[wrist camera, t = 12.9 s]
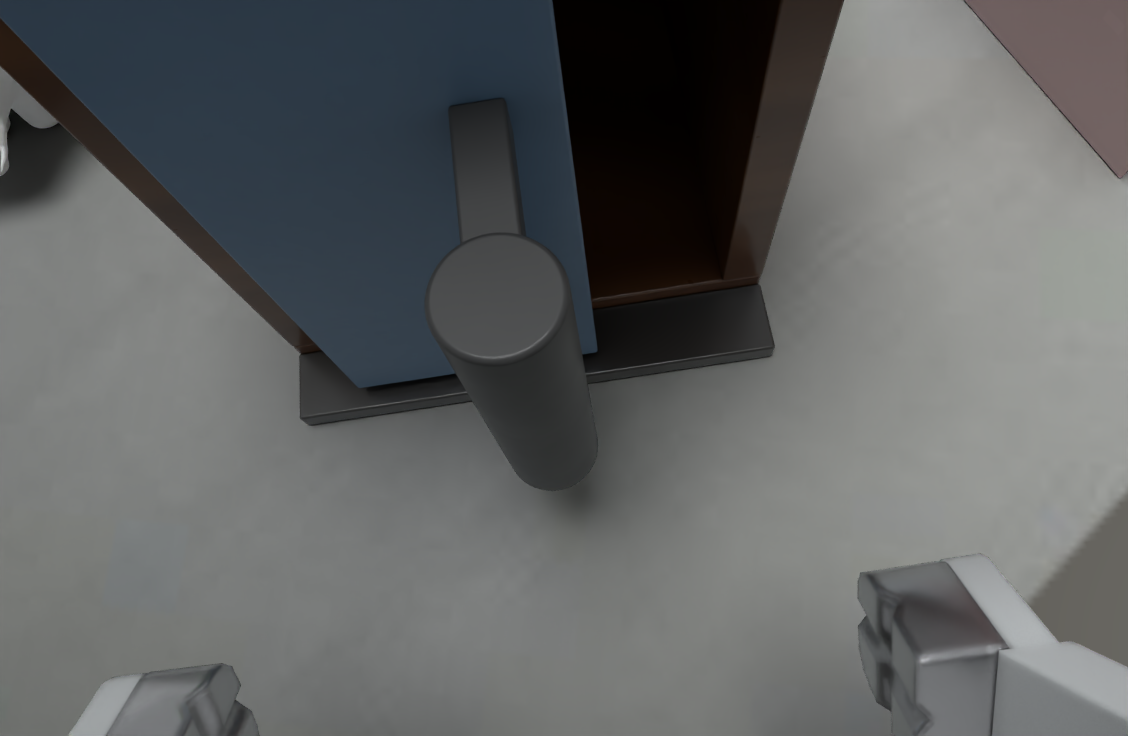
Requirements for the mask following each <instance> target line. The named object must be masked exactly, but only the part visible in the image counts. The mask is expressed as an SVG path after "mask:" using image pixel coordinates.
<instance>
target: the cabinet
mask: <svg viewBox="0 0 1128 736" xmlns="http://www.w3.org/2000/svg"><path fill="white" fill-rule="evenodd" d="M552 1H553V9H554V17H555V25H556V32H557V40H558V48H559V55H560V63H561V71H562V79H563V86H564V94H565V102H566V109H567V117H568V125H569V133H570V140H571V148H572V156H573V164H574V171H575V179H576V187H577V194H578V202H579V210H580V218H581V225H582V233H583V241H584V248H585V256H586V264H587V272H588V279H589V287H590V295H591V302H592V310H593V318H594V326H595V333H596V341H597V349H598V350H597V352H595V353H589V354H582V356H583V361H584V367H585V373H586V378H587V383H593V382H600V381H607V380H613V379H620V378H627V377H633V376H640V375H647V374H653V373H660V372H667V371H673V370H680V369H687V368H693V367H700V366H707V365H713V364H720V363H727V362H733V361H740V360H747V359H753V358H760V357H767V356H771V355H772V353H773V350H774V348H775V345H774V341H773V336H772V332H771V328H770V324H769V320H768V316H767V311H766V307H765V303H764V299H763V295H762V291H761V286H760V285H759V280H760V277H761V274H762V272H763V269H764V265H765V262H766V259H767V256H768V252H769V249H770V246H771V242H772V239H773V236H774V232H775V229H776V226H777V222H778V219H779V216H780V212H781V209H782V206H783V202H784V199H785V196H786V192H787V189H788V186H789V182H790V179H791V176H792V172H793V169H794V166H795V162H796V159H797V156H798V152H799V149H800V146H801V142H802V139H803V136H804V132H805V129H806V126H807V122H808V119H809V116H810V112H811V109H812V106H813V102H814V99H815V96H816V92H817V89H818V86H819V82H820V79H821V76H822V72H823V69H824V66H825V62H826V59H827V56H828V52H829V49H830V46H831V42H832V39H833V36H834V32H835V29H836V26H837V22H838V19H839V16H840V12H841V9H842V6H843V2H844V0H552ZM0 67H1V68H2V69H3V70H4V71H5V72H6V73H8V74H9V75H10V76H11V77H12V78H13V79H14V80H15V81H16V82H17V83H18V84H19V85H20V86H21V87H22V88H23V89H24V90H25V91H26V92H27V93H28V94H29V95H31V96H32V97H33V98H34V99H35V100H36V101H37V102H38V103H39V104H40V105H41V106H42V107H43V108H44V109H45V110H46V111H47V112H48V113H49V114H50V115H51V116H52V117H53V118H55V119H56V120H57V121H58V122H59V123H60V124H61V125H62V126H63V127H64V128H65V129H66V130H67V131H68V132H69V133H70V134H71V135H72V136H73V137H74V138H75V139H76V140H78V141H79V142H80V143H81V144H82V145H83V146H84V147H85V148H86V149H87V150H88V151H89V152H90V153H91V154H92V155H93V156H94V157H95V158H96V159H97V160H98V161H99V162H101V163H102V164H103V165H104V166H105V167H106V168H107V169H108V170H109V171H110V172H111V173H112V174H113V175H114V176H115V177H116V178H117V179H118V180H119V181H120V182H121V183H122V184H124V185H125V186H126V187H127V188H128V189H129V190H130V191H131V192H132V193H133V194H134V195H135V196H136V197H137V198H138V199H139V200H140V201H141V202H142V203H143V204H144V205H145V206H146V207H148V208H149V209H150V210H151V211H152V212H153V213H154V214H155V215H156V216H157V217H158V218H159V219H160V220H161V221H162V222H163V223H164V224H165V225H166V226H167V227H168V228H169V229H171V230H172V231H173V232H174V233H175V234H176V235H177V236H178V237H179V238H180V239H181V240H182V241H183V242H184V243H185V244H186V245H187V246H188V247H189V248H190V249H191V250H192V251H194V252H195V253H196V254H197V255H198V256H199V257H200V258H201V259H202V260H203V261H204V262H205V263H206V264H207V265H208V266H209V267H210V268H211V269H212V270H213V271H214V272H215V273H217V274H218V275H219V276H220V277H221V278H222V279H223V280H224V281H225V282H226V283H227V284H228V285H229V286H230V287H231V288H232V289H233V290H234V291H235V292H236V293H237V294H238V295H239V296H241V297H242V298H243V299H244V300H245V301H246V302H247V303H248V304H249V305H250V306H251V307H252V308H253V309H254V310H255V311H256V312H257V313H258V314H259V315H260V316H261V317H262V318H264V319H265V320H266V321H267V322H268V323H269V324H270V325H271V326H272V327H273V328H274V329H275V330H276V331H277V332H278V333H279V334H280V335H281V336H282V337H283V338H284V339H285V340H287V341H288V342H289V343H290V344H291V345H292V346H294V347H295V349H296V350H297V351H299V352H300V353H301V354H300V356H299V364H300V419H301V420H303V421H304V422H305V423H306V424H308V425H313V424H319V423H326V422H333V421H339V420H346V419H353V418H359V417H366V416H373V415H380V414H386V413H393V412H400V411H406V410H413V409H420V408H426V407H433V406H440V405H446V404H453V403H460V402H466V401H472V400H471V398H470V396H469V395H468V393H467V391H466V390H465V388H464V386H463V385H462V383H461V381H460V380H459V378H458V376H457V375H456V374H450V375H443V376H436V377H430V378H423V379H417V380H410V381H403V382H397V383H390V384H383V385H377V386H370V387H364V388H358V387H357V386H356V385H355V384H354V383H353V382H352V381H351V380H350V379H349V378H348V377H347V376H346V375H345V374H344V373H343V372H342V371H341V369H340V368H339V367H338V366H337V365H336V364H335V363H334V362H333V361H332V360H331V359H330V358H329V357H328V356H327V355H326V354H325V353H324V352H323V351H322V350H321V349H320V348H319V347H318V346H317V345H316V344H315V343H314V342H313V341H312V340H311V338H310V337H309V336H308V335H307V334H306V333H305V332H304V331H303V330H302V329H301V328H300V327H299V326H298V325H297V324H296V323H295V322H294V321H293V320H292V319H291V318H290V317H289V316H288V315H287V314H286V313H285V312H284V311H283V310H282V309H281V308H280V306H279V305H278V304H277V303H276V302H275V301H274V300H273V299H272V298H271V297H270V296H269V295H268V294H267V293H266V292H265V291H264V290H263V289H262V288H261V287H260V286H259V285H258V284H257V283H256V282H255V281H254V280H253V279H252V278H251V277H250V275H249V274H248V273H247V272H246V271H245V270H244V269H243V268H242V267H241V266H240V265H239V264H238V263H237V262H236V261H235V260H234V259H233V258H232V257H231V256H230V255H229V254H228V253H227V252H226V251H225V250H224V249H223V248H222V247H221V246H220V245H219V243H218V242H217V241H216V240H215V239H214V238H213V237H212V236H211V235H210V234H209V233H208V232H207V231H206V230H205V229H204V228H203V227H202V226H201V225H200V224H199V223H198V222H197V221H196V220H195V219H194V218H193V217H192V216H191V215H190V214H189V213H188V211H187V210H186V209H185V208H184V207H183V206H182V205H181V204H180V203H179V202H178V201H177V200H176V199H175V198H174V197H173V196H172V195H171V194H170V193H169V192H168V191H167V190H166V189H165V188H164V187H163V186H162V185H161V184H160V183H159V182H158V180H157V179H156V178H155V177H154V176H153V175H152V174H151V173H150V172H149V171H148V170H147V169H146V168H145V167H144V166H143V165H142V164H141V163H140V162H139V161H138V160H137V159H136V158H135V157H134V156H133V155H132V154H131V153H130V152H129V151H128V150H127V148H126V147H125V146H124V145H123V144H122V143H121V142H120V141H119V140H118V139H117V138H116V137H115V136H114V135H113V134H112V133H111V132H110V131H109V130H108V129H107V128H106V127H105V126H104V125H103V124H102V123H101V122H100V121H99V120H98V119H97V117H96V116H95V115H94V114H93V113H92V112H91V111H90V110H89V109H88V108H87V107H86V106H85V105H84V104H83V103H82V102H81V101H80V100H79V99H78V98H77V97H76V96H75V95H74V94H73V93H72V92H71V91H70V90H69V89H68V88H67V87H66V85H65V84H64V83H63V82H62V81H61V80H60V79H59V78H58V77H57V76H56V75H55V74H54V73H53V72H52V71H51V70H50V69H49V68H48V67H47V66H46V65H45V64H44V63H43V62H42V61H41V60H40V59H39V58H38V57H37V56H36V55H35V53H34V52H33V51H32V50H31V49H30V48H29V47H28V46H27V45H26V44H25V43H24V42H23V41H22V40H21V39H20V38H19V37H18V36H17V35H16V34H15V33H14V32H13V31H12V30H11V29H10V28H9V27H8V26H7V25H6V24H5V22H4V21H3V20H2V19H1V18H0Z"/></svg>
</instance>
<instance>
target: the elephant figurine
mask: <svg viewBox="0 0 1128 736" xmlns="http://www.w3.org/2000/svg"><path fill="white" fill-rule="evenodd" d="M11 109H13V110H14V111H15V112H16V113H18V114H19V115H20V116H21V117H22V118H23V119H24V120H25V121H26V122H28V123H29V124H30V125H32V126H34V127H36V128H49V127H52V126H54V125H56V124H57V123H59V122H58V121H57V120H56V119H55V118H53V117H52V116H51V115H50V114H49V113H48V112H47V111H46V110H45V109H44V108H43V107H42V106H41V105H40V104H39V103H38V102H37V101H36V100H35V99H34V98H33V97H32V96H31V95H29V94H28V93H27V92H26V91H25V90H24V89H23V88H22V87H21V86H20V85H19V84H18V83H17V82H16V81H15V80H14V79H13V78H12V77H11V76H10V75H9V74H8V73H6V72H5V71H4V70H3V69H2V68H1V67H0V176H2V175H3V174H5V172H6V171H7V170H8V168H9V161H8V146H7V132H8V130H9V127H10V119H9V117H8V116H9V113H10V110H11Z"/></svg>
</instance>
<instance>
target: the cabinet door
mask: <svg viewBox="0 0 1128 736" xmlns="http://www.w3.org/2000/svg"><path fill="white" fill-rule="evenodd" d="M0 18H1V19H2V20H3V21H4V22H5V24H6V25H7V26H8V27H9V28H10V29H11V30H12V31H13V32H14V33H15V34H16V35H17V36H18V37H19V38H20V39H21V40H22V41H23V42H24V43H25V44H26V45H27V46H28V47H29V48H30V49H31V50H32V51H33V52H34V53H35V55H36V56H37V57H38V58H39V59H40V60H41V61H42V62H43V63H44V64H45V65H46V66H47V67H48V68H49V69H50V70H51V71H52V72H53V73H54V74H55V75H56V76H57V77H58V78H59V79H60V80H61V81H62V82H63V83H64V84H65V85H66V87H67V88H68V89H69V90H70V91H71V92H72V93H73V94H74V95H75V96H76V97H77V98H78V99H79V100H80V101H81V102H82V103H83V104H84V105H85V106H86V107H87V108H88V109H89V110H90V111H91V112H92V113H93V114H94V115H95V116H96V117H97V119H98V120H99V121H100V122H101V123H102V124H103V125H104V126H105V127H106V128H107V129H108V130H109V131H110V132H111V133H112V134H113V135H114V136H115V137H116V138H117V139H118V140H119V141H120V142H121V143H122V144H123V145H124V146H125V147H126V148H127V150H128V151H129V152H130V153H131V154H132V155H133V156H134V157H135V158H136V159H137V160H138V161H139V162H140V163H141V164H142V165H143V166H144V167H145V168H146V169H147V170H148V171H149V172H150V173H151V174H152V175H153V176H154V177H155V178H156V179H157V180H158V182H159V183H160V184H161V185H162V186H163V187H164V188H165V189H166V190H167V191H168V192H169V193H170V194H171V195H172V196H173V197H174V198H175V199H176V200H177V201H178V202H179V203H180V204H181V205H182V206H183V207H184V208H185V209H186V210H187V211H188V213H189V214H190V215H191V216H192V217H193V218H194V219H195V220H196V221H197V222H198V223H199V224H200V225H201V226H202V227H203V228H204V229H205V230H206V231H207V232H208V233H209V234H210V235H211V236H212V237H213V238H214V239H215V240H216V241H217V242H218V243H219V245H220V246H221V247H222V248H223V249H224V250H225V251H226V252H227V253H228V254H229V255H230V256H231V257H232V258H233V259H234V260H235V261H236V262H237V263H238V264H239V265H240V266H241V267H242V268H243V269H244V270H245V271H246V272H247V273H248V274H249V275H250V277H251V278H252V279H253V280H254V281H255V282H256V283H257V284H258V285H259V286H260V287H261V288H262V289H263V290H264V291H265V292H266V293H267V294H268V295H269V296H270V297H271V298H272V299H273V300H274V301H275V302H276V303H277V304H278V305H279V306H280V308H281V309H282V310H283V311H284V312H285V313H286V314H287V315H288V316H289V317H290V318H291V319H292V320H293V321H294V322H295V323H296V324H297V325H298V326H299V327H300V328H301V329H302V330H303V331H304V332H305V333H306V334H307V335H308V336H309V337H310V338H311V340H312V341H313V342H314V343H315V344H316V345H317V346H318V347H319V348H320V349H321V350H322V351H323V352H324V353H325V354H326V355H327V356H328V357H329V358H330V359H331V360H332V361H333V362H334V363H335V364H336V365H337V366H338V367H339V368H340V369H341V371H342V372H343V373H344V374H345V375H346V376H347V377H348V378H349V379H350V380H351V381H352V382H353V383H354V384H355V385H356V386H357V387H358V388H364V387H370V386H377V385H383V384H390V383H397V382H403V381H410V380H417V379H423V378H430V377H436V376H443V375H450V374H456V375H457V376H458V378H459V380H460V381H461V383H462V385H463V386H464V388H465V390H466V391H467V393H468V395H469V396H470V398H471V400H472V401H473V403H474V405H475V406H476V408H477V410H478V411H479V413H480V415H481V416H482V418H483V419H484V421H485V423H486V424H487V426H488V428H489V429H490V431H491V433H492V434H493V436H494V438H495V439H496V441H497V443H498V444H499V446H500V448H501V449H502V451H503V453H504V454H505V456H506V458H507V459H508V461H509V463H510V464H511V466H512V468H513V469H514V471H515V472H516V474H517V475H518V476H519V477H520V478H521V479H522V480H523V481H524V482H526V483H527V484H529V485H530V486H533V487H535V488H538V489H541V490H546V491H556V490H562V489H566V488H569V487H571V486H573V485H575V484H577V483H578V482H580V481H581V480H582V479H583V478H584V477H585V476H586V475H587V474H588V473H589V471H590V470H591V468H592V467H593V465H594V463H595V460H596V457H597V452H598V440H597V434H596V429H595V423H594V417H593V412H592V406H591V401H590V395H589V389H588V384H587V378H586V373H585V367H584V361H583V356H582V354H589V353H595V352H597V350H598V349H597V341H596V333H595V326H594V318H593V310H592V302H591V295H590V287H589V279H588V272H587V264H586V256H585V248H584V241H583V233H582V225H581V218H580V210H579V202H578V194H577V187H576V179H575V171H574V164H573V156H572V148H571V140H570V133H569V125H568V117H567V109H566V102H565V94H564V86H563V79H562V71H561V63H560V55H559V48H558V40H557V32H556V25H555V17H554V9H553V1H552V0H0Z"/></svg>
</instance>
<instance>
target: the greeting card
mask: <svg viewBox="0 0 1128 736" xmlns="http://www.w3.org/2000/svg"><path fill="white" fill-rule="evenodd" d="M965 1H966V2H967V4H968V5H969V6H970V7H971V8H972V9H973V10H974V12H975V13H976V14H977V15H978V16H979V17H980V18H981V20H982V21H983V22H984V23H985V24H986V25H987V26H988V28H989V29H990V30H991V31H992V32H993V33H994V35H995V36H996V37H997V38H998V39H999V40H1000V41H1001V43H1002V44H1003V45H1004V46H1005V47H1006V48H1007V49H1008V51H1009V52H1010V53H1011V54H1012V55H1013V56H1014V57H1015V59H1016V60H1017V61H1018V62H1019V63H1020V64H1021V65H1022V67H1023V68H1024V69H1025V70H1026V71H1027V72H1028V74H1029V75H1030V76H1031V77H1032V78H1033V79H1034V80H1035V82H1036V83H1037V84H1038V85H1039V86H1040V87H1041V88H1042V90H1043V91H1044V92H1045V93H1046V94H1047V95H1048V96H1049V98H1050V99H1051V100H1052V101H1053V102H1054V103H1055V104H1056V106H1057V107H1058V108H1059V109H1060V110H1061V111H1062V113H1063V114H1064V115H1065V116H1066V117H1067V118H1068V119H1069V121H1070V122H1071V123H1072V124H1073V125H1074V126H1075V127H1076V129H1077V130H1078V131H1079V132H1080V133H1081V134H1082V135H1083V137H1084V138H1085V139H1086V140H1087V141H1088V142H1089V144H1090V145H1091V146H1092V147H1093V148H1094V149H1095V150H1096V152H1097V153H1098V154H1099V155H1100V156H1101V157H1102V158H1103V160H1104V161H1105V162H1106V163H1107V164H1108V165H1109V166H1110V168H1111V169H1112V170H1113V171H1114V172H1115V173H1116V174H1117V176H1118V177H1119V178H1122V177H1123V176H1124V175H1125V174H1126V172H1127V171H1128V0H965Z"/></svg>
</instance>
